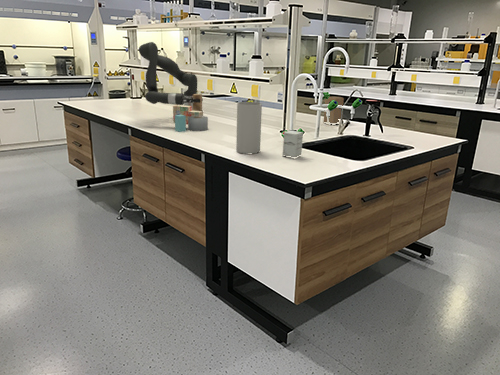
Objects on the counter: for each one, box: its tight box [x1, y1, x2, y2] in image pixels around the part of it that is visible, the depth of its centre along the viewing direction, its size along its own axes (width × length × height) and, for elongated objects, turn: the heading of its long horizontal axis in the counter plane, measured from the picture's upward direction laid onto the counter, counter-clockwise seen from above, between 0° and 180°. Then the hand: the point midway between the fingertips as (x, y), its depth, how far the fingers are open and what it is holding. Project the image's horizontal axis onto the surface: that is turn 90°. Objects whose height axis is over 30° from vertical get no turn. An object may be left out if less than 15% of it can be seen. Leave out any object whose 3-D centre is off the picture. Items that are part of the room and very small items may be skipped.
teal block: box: [174, 115, 187, 133], centre depth 255 cm, size 5×5×10 cm
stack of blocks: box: [172, 104, 204, 125], centre depth 282 cm, size 21×6×12 cm, turn 67°
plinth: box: [187, 115, 209, 132], centre depth 263 cm, size 13×13×8 cm
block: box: [323, 96, 345, 123], centre depth 297 cm, size 10×10×20 cm
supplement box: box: [282, 130, 304, 157], centre depth 199 cm, size 7×7×13 cm
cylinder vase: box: [235, 101, 263, 154], centre depth 204 cm, size 12×12×25 cm
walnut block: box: [193, 93, 203, 111], centre depth 259 cm, size 5×5×10 cm
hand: (201, 100), depth 258 cm, fingers closed on walnut block, 5 cm apart
